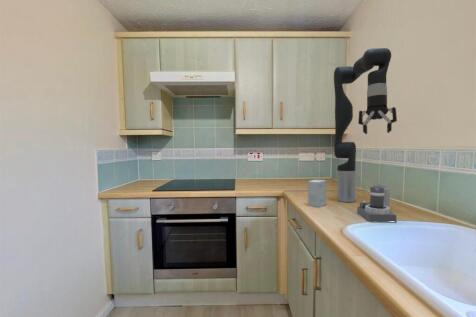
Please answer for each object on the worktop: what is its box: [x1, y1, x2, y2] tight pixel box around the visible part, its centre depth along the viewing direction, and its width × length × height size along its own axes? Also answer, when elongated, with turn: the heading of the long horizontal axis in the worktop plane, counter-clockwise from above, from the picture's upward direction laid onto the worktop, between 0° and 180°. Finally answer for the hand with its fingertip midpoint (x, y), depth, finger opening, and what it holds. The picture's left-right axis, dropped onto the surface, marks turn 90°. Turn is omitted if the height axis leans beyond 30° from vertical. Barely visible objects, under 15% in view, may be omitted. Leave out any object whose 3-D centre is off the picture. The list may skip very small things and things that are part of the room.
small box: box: [307, 179, 327, 208], centre depth 127 cm, size 8×6×13 cm
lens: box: [369, 186, 384, 209], centre depth 100 cm, size 5×5×10 cm
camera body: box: [356, 200, 397, 222], centre depth 103 cm, size 14×10×6 cm
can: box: [372, 183, 391, 208], centre depth 115 cm, size 8×8×12 cm
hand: (377, 133), depth 104 cm, fingers open, 8 cm apart
